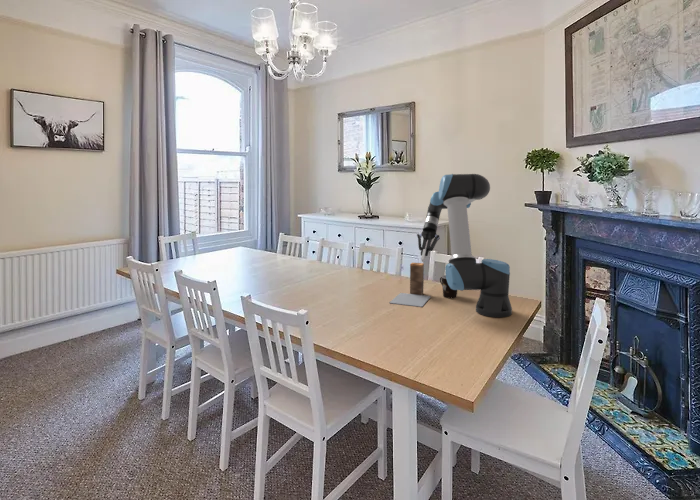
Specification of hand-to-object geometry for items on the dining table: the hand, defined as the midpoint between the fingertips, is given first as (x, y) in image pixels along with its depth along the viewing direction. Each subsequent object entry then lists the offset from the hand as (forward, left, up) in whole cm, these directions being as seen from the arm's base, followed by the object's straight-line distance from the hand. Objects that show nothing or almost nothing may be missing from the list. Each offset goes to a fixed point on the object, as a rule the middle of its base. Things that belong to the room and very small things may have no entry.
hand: (422, 260), depth 218 cm
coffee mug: (-17, +11, -15) cm, 25 cm away
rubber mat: (-1, +25, -15) cm, 29 cm away
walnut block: (-1, +14, -15) cm, 20 cm away
